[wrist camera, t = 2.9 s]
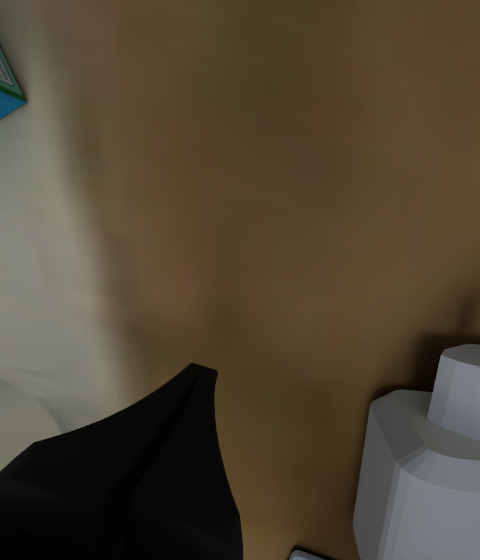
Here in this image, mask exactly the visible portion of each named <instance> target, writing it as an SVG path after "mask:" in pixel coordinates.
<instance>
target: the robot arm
mask: <svg viewBox="0 0 480 560" xmlns="http://www.w3.org/2000/svg"><path fill="white" fill-rule="evenodd" d="M217 375H218V372H217V370H214V369H211V368H208V367H205V366H201V365H198V364H195V363H191V364H189V365H188V366H187V367H186V368H185V369H183V370H182V371H181V372H180V373H179V374H177V375H176V376H175V377H174V378H172V379H171V380H170V381H168V382H167V383H166V384H164V385H163V386H161V387H160V388H159V389H157V390H155V391H154V392H152V393H151V394H149V395H148V396H146V397H145V398H143V399H141V400H140V401H138V402H136V403H135V404H133V405H131V406H129V407H127V408H125V409H123V410H121V411H119V412H117V413H115V414H113V415H111V416H109V417H107V418H104V419H102V420H100V421H97V422H95V423H92V424H90V425H87V426H85V427H82V428H79V429H76V430H73V431H70V432H67V433H64V434H61V435H58V436H54V437H51V438H48V439H44V440H41V441H37V442H34V443H33V444H31V445H30V446H29V447H28V448H26V450H24V451H23V452H21V453H20V454H19V455H18V456H17V457H16V458H14V460H12V461H11V462H10V463H9V464H8V465H7V466H6V467H5V468H4V469H2V470H1V471H0V560H243V542H242V531H241V522H240V514H239V512H238V509H237V506H236V504H235V501H234V498H233V495H232V492H231V489H230V486H229V483H228V479H227V476H226V473H225V469H224V465H223V461H222V457H221V453H220V447H219V442H218V436H217V430H216V421H215V406H214V393H215V383H216V379H217ZM289 560H325V559H322V558H319V557H317V556H314V555H311V554H308V553H306V552H303V551H300V550H295V551H293V552H292V554H291V556H290V558H289Z"/></svg>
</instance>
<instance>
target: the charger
mask: <svg viewBox="0 0 480 560" xmlns="http://www.w3.org/2000/svg"><path fill="white" fill-rule="evenodd" d="M353 531H354V535H355V539H356V544H357V548H358V552H359V557H360V560H480V345H476V344H465V345H461V346H456V347H452V348H448V349H445V350H444V351H443V353H442V354H441V357H440V362H439V366H438V371H437V375H436V380H435V384H434V389H433V392H424V391H413V390H395V391H393V392H391V393H389V394H387V395H385V396H382V397H380V398H378V399H376V400H374V401H373V402H372V403H370V410H369V416H368V423H367V430H366V436H365V443H364V450H363V456H362V463H361V470H360V477H359V483H358V490H357V497H356V503H355V510H354V517H353Z"/></svg>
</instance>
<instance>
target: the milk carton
mask: <svg viewBox="0 0 480 560" xmlns="http://www.w3.org/2000/svg"><path fill="white" fill-rule="evenodd" d="M25 103H26V101H25V99H24V97H23V94H22V92H21V90H20V88H19V86H18V84H17V82H16V80H15V78H14V76H13V73H12V71H11V69H10V67H9V65H8V63H7V61H6V59H5V57H4V55H3V52H2V50H1V48H0V119H1V118H3V117H4V116H6V115H8V114H9V113H11V112H12V111H14V110H16V109H17V108H19V107H20V106H22V105H24V104H25Z"/></svg>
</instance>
